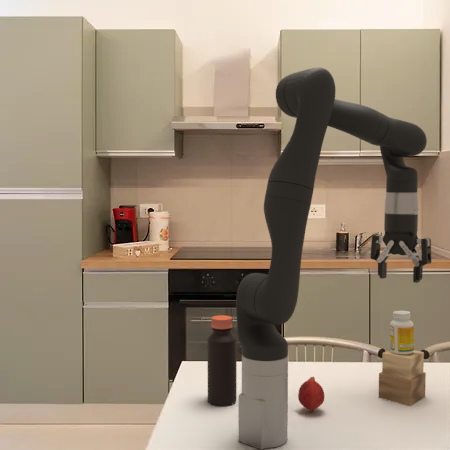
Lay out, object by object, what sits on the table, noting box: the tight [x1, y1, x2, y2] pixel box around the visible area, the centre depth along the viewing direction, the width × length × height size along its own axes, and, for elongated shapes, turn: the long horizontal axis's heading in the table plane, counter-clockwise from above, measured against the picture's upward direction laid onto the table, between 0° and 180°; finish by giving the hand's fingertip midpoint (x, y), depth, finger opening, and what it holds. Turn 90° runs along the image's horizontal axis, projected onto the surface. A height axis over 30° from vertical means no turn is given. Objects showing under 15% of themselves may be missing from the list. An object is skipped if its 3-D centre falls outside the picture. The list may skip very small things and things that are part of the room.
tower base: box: [378, 371, 427, 407], centre depth 140 cm, size 8×8×6 cm
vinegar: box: [207, 315, 237, 407], centre depth 137 cm, size 7×7×20 cm
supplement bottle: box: [389, 310, 415, 355], centre depth 139 cm, size 5×5×10 cm
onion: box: [297, 376, 325, 413], centre depth 131 cm, size 6×6×8 cm
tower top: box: [381, 348, 425, 380], centre depth 140 cm, size 7×7×5 cm
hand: (399, 280), depth 139 cm, fingers open, 8 cm apart
